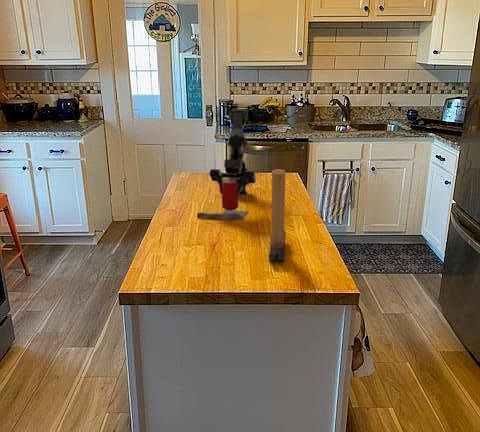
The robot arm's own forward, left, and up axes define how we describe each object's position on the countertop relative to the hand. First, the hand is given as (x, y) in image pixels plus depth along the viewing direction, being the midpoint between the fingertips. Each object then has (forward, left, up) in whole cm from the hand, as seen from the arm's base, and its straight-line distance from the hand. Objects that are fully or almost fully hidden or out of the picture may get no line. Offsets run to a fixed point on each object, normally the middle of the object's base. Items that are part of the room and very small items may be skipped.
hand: (229, 194), depth 193 cm
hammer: (+2, +41, -10) cm, 42 cm away
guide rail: (+6, 0, -9) cm, 11 cm away
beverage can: (-1, -1, -7) cm, 7 cm away
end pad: (-2, 0, -9) cm, 9 cm away
